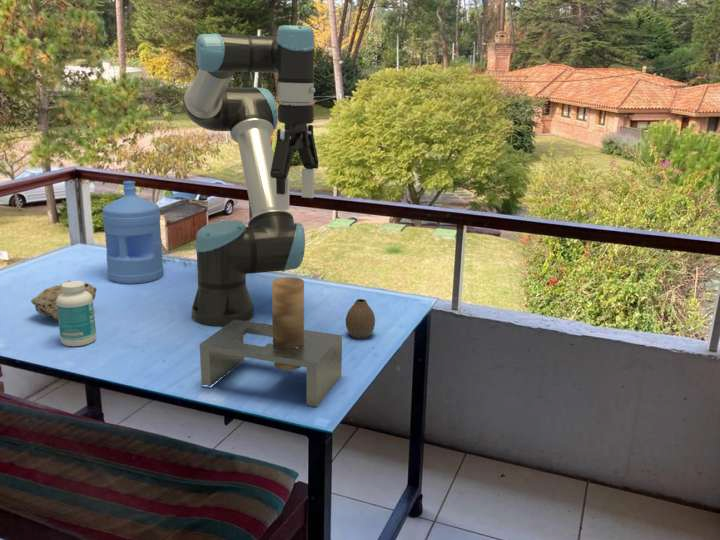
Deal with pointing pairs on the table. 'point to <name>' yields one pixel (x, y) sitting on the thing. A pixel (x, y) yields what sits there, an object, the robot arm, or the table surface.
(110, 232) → the water jug
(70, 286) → the pill bottle
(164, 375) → the table surface
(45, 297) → the pumice stone
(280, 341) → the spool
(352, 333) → the vase
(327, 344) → the keyhole plate
